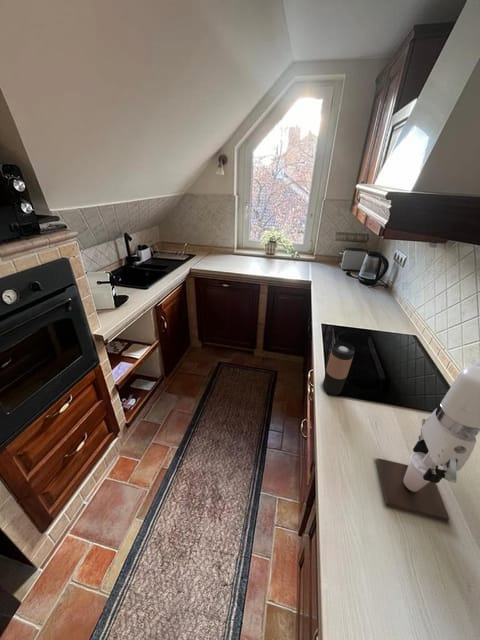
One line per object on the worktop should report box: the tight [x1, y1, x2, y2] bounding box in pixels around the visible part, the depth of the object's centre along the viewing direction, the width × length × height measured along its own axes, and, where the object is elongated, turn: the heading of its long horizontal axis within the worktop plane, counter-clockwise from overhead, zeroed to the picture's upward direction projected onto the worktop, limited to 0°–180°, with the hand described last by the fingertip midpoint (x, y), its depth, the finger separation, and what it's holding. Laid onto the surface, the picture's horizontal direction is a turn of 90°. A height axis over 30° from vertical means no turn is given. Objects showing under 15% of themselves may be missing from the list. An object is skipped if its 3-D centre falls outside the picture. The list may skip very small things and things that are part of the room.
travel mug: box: [322, 341, 355, 396], centre depth 95 cm, size 8×8×20 cm
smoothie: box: [403, 452, 441, 492], centre depth 64 cm, size 6×6×14 cm
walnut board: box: [375, 457, 450, 522], centre depth 69 cm, size 14×12×2 cm
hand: (424, 465), depth 63 cm, fingers closed on smoothie, 6 cm apart
